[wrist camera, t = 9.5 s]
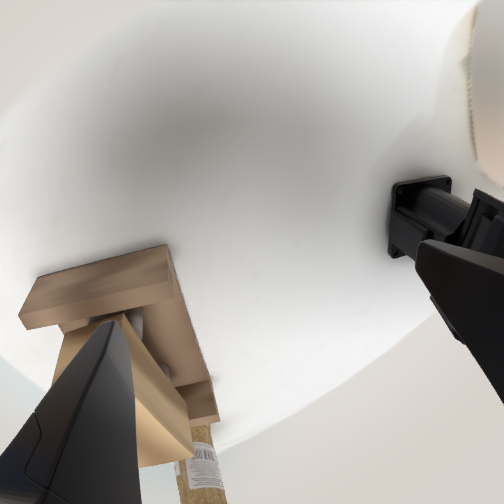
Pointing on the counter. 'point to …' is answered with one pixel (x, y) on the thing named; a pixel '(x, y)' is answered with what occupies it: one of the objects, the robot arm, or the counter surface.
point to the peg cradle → (131, 316)
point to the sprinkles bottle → (200, 471)
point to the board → (143, 398)
